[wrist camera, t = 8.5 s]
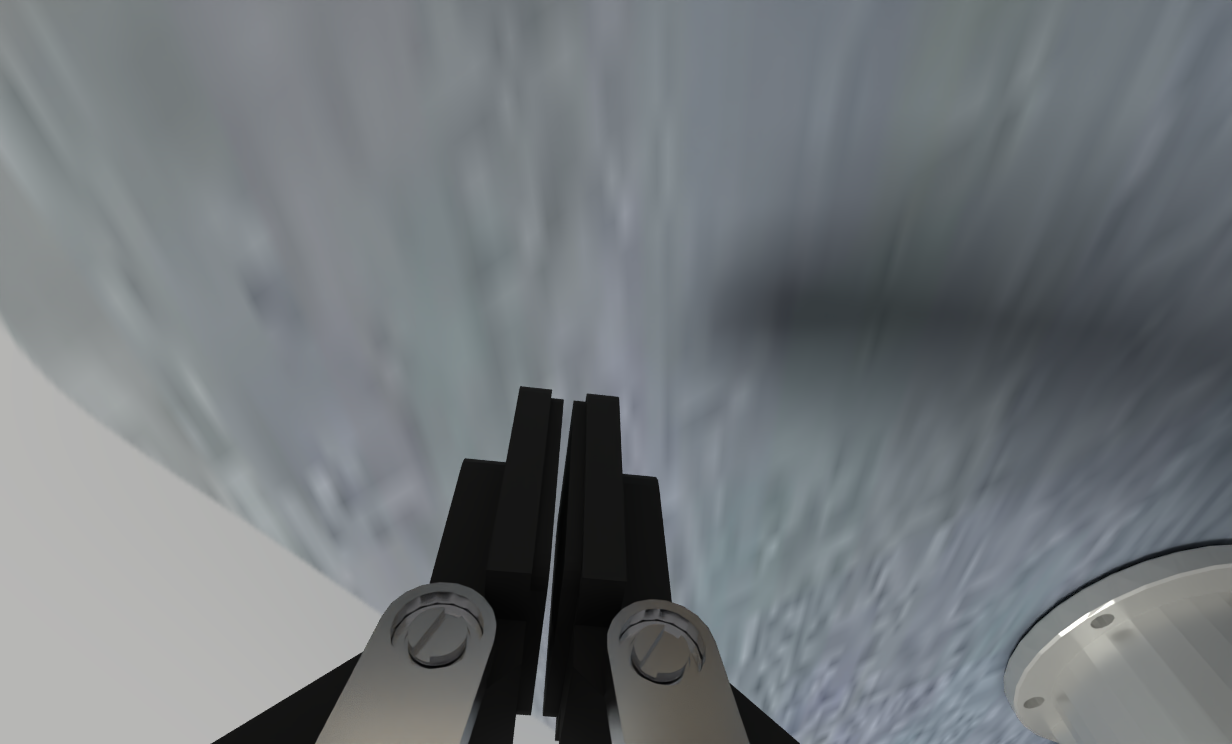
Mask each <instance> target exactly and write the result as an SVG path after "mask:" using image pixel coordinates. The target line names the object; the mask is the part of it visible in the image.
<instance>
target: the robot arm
mask: <svg viewBox="0 0 1232 744" xmlns="http://www.w3.org/2000/svg"><path fill="white" fill-rule="evenodd" d="M551 394H552V390H550V389H541V388H532V387H522V386H520V389H519V395H518V400H517V406H516V411H515V416H514V422H513V427H512V433H511V438H510V443H509V449H508V454H507V460H506V462H497V461H486V460H476V459H466V458H465V459H464V461H463V463H462V466H461V470H460V473H459V477H458V481H457V484H456V488H455V492H454V496H453V499H452V503H451V507H450V510H449V514H448V518H447V521H446V525H445V529H444V532H443V536H442V540H441V543H440V547H439V551H438V555H437V558H436V562H435V566H434V569H433V573H432V577H431V580H430V584H426V585H421V586H419V587H416V588H414V589H412V590H409V591H407V592H405V593H404V594H403V595H401V596H400V597H399V598H397V599H396V600H395V601H393V602H392V603H391V604H390V606H389V607H388V608H387V610H386V611H385V612H384V614H383V615H382V617H381V619H380V620H379V622H378V624H377V626H376V628H375V630H374V632H373V634H372V636H371V638H370V640H369V642H368V643H367V645H366V647H365V649H364V651H363V652H362V653H360V654H358V655H357V656H355V657H353V658H352V659H350V660H348V661H347V662H345V663H343V664H342V665H340V666H339V667H337V668H335V669H334V670H332V671H330V672H329V673H327V674H325V675H324V676H322V677H320V678H319V679H317V680H315V681H314V682H312V683H311V684H309V685H307V686H306V687H304V688H302V689H301V690H299V691H297V692H296V693H294V694H292V695H291V696H289V697H288V698H286V699H284V700H282V701H281V702H279V703H278V704H276V705H274V706H273V707H271V708H269V709H268V710H266V711H264V712H263V713H261V714H260V715H258V716H256V717H254V718H253V719H251V720H249V721H248V722H246V723H245V724H243V725H241V726H240V727H238V728H236V729H235V730H233V731H231V732H230V733H228V734H226V735H225V736H223V737H221V738H220V739H218V740H216V741H215V742H213V743H212V744H513V736H514V727H515V718H516V714H519V715H531V710H532V703H533V695H534V688H535V680H536V673H537V665H538V657H539V650H540V642H541V635H542V627H543V620H544V612H545V604H546V597H547V589H548V581H549V571H550V561H551V550H552V537H553V525H554V513H555V501H556V488H557V476H558V464H559V452H560V439H561V427H562V415H563V403H564V399H554V398H551ZM1004 692H1005V694H1006V697H1007V699H1008V701H1009V703H1010V705H1011V707H1012V709H1013V710H1014V712H1015V714H1016V716H1017V717H1018V718H1019V720H1020V721H1021V723H1022V724H1023V725H1024V727H1026V728H1027V729H1029V730H1030V731H1032V732H1033V733H1034V734H1036V735H1038V736H1041V737H1043V738H1046V739H1049V740H1051V741H1054V742H1058V743H1059V744H1232V545H1217V546H1206V547H1201V548H1195V549H1189V550H1184V551H1178V552H1174V553H1171V554H1168V555H1164V556H1161V557H1157V558H1154V559H1150V560H1147V561H1144V562H1141V563H1139V564H1136V565H1134V566H1131V567H1129V568H1126V569H1124V570H1121V571H1119V572H1116V573H1114V574H1111V575H1110V576H1108V577H1106V578H1104V579H1102V580H1100V581H1098V582H1096V583H1094V584H1092V585H1090V586H1088V587H1086V588H1084V589H1083V590H1081V591H1080V592H1078V593H1076V594H1075V595H1073V596H1072V597H1070V598H1069V599H1067V600H1066V601H1064V602H1063V603H1061V604H1060V605H1058V606H1057V607H1056V608H1054V609H1053V610H1052V611H1051V612H1050V613H1048V614H1047V615H1046V616H1045V617H1044V618H1042V619H1041V620H1040V621H1039V622H1038V623H1036V625H1035V626H1034V627H1033V628H1032V629H1031V630H1030V631H1029V632H1028V633H1027V635H1026V636H1025V637H1024V638H1023V639H1022V640H1021V641H1020V643H1019V644H1018V646H1017V648H1016V649H1015V651H1014V652H1013V654H1012V656H1011V657H1010V659H1009V662H1008V665H1007V668H1006V671H1005V675H1004ZM543 716H549V717H556V733H555V741H559V744H800V743H799V742H797V741H796V740H795V739H794V738H793V737H792V736H791V735H789V734H788V733H787V732H786V731H785V730H784V729H782V728H781V727H780V726H779V725H778V724H777V723H775V722H774V721H773V720H772V719H771V718H770V717H769V716H767V715H766V714H765V713H764V712H763V711H762V710H760V709H759V708H758V707H757V706H756V705H755V704H753V703H752V702H751V701H750V700H749V699H748V698H747V697H745V696H744V695H743V694H742V693H741V692H740V691H738V690H737V689H736V688H735V687H734V686H733V685H731V684H730V683H729V680H728V677H727V674H726V671H725V668H724V665H723V662H722V659H721V657H720V654H719V651H718V648H717V645H716V642H715V640H714V638H713V636H712V634H711V632H710V630H709V628H708V627H707V626H706V625H705V623H704V622H703V621H702V620H701V619H700V618H699V617H698V616H697V615H696V614H694V613H693V612H691V611H690V610H688V609H686V608H685V607H683V606H681V605H678V604H675V603H672V600H671V591H670V581H669V572H668V563H667V554H666V545H665V536H664V527H663V518H662V509H661V500H660V491H659V484H658V480H657V478H656V477H650V476H640V475H629V474H622V453H621V430H620V406H619V397H615V396H606V395H596V394H587V396H586V402H583V401H574V402H573V409H572V416H571V424H570V431H569V439H568V446H567V454H566V461H565V469H564V476H563V484H562V491H561V499H560V506H559V514H558V522H557V532H556V544H555V557H554V570H553V583H552V596H551V610H550V623H549V636H548V649H547V662H546V676H545V689H544V702H543Z"/></svg>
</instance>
